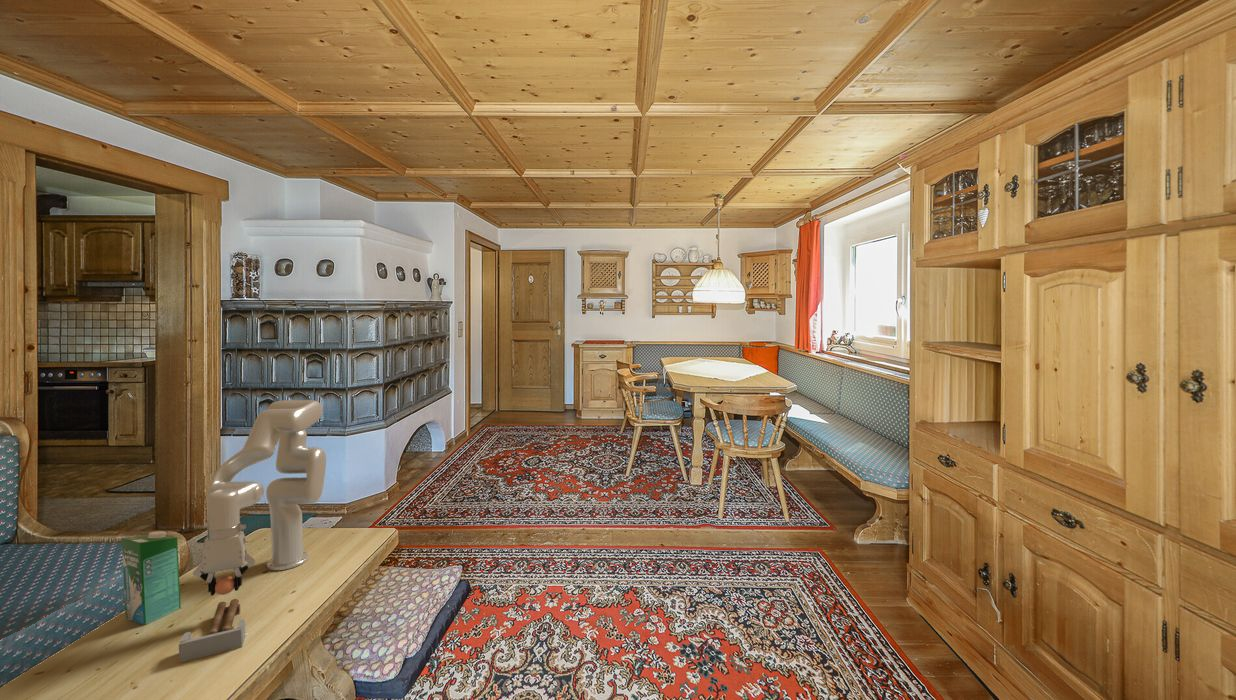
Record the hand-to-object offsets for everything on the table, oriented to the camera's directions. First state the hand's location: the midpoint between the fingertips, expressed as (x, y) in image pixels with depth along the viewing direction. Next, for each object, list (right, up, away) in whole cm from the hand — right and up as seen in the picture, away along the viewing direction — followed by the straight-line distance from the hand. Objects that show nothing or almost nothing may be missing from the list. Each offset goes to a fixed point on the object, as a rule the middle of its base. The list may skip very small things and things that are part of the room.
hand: (225, 590), depth 143 cm
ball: (0, +2, 0) cm, 2 cm away
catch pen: (+8, -9, -13) cm, 18 cm away
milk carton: (-23, -8, +2) cm, 25 cm away
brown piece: (+2, -9, -2) cm, 9 cm away
